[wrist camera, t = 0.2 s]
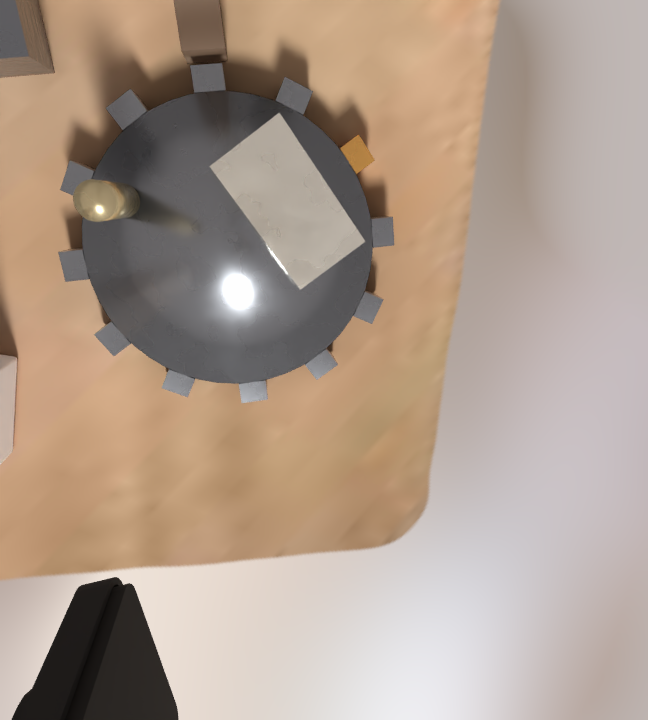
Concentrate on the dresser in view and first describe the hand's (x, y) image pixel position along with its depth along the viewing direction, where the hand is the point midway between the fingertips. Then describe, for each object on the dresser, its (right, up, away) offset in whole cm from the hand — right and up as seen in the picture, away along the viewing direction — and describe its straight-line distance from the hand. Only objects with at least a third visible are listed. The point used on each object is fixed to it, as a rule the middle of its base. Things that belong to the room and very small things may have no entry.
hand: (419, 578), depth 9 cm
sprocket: (-8, +11, +27) cm, 30 cm away
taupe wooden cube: (-9, +23, +23) cm, 34 cm away
